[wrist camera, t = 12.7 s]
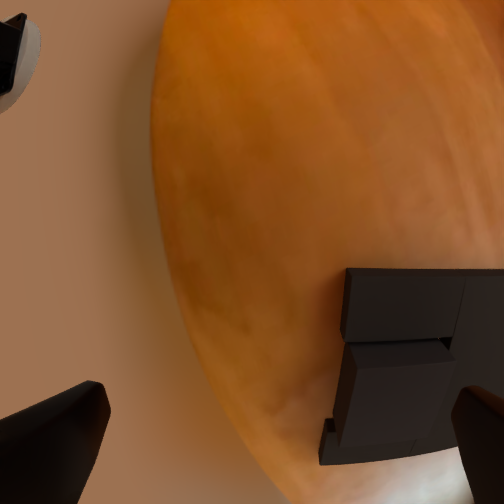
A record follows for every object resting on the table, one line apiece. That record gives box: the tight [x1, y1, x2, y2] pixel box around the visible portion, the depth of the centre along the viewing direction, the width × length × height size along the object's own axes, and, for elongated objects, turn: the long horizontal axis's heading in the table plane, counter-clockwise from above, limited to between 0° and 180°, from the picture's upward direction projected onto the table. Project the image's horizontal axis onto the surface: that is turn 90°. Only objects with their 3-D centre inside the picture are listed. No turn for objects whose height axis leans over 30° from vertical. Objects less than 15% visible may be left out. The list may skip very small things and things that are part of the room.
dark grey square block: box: [333, 338, 457, 447], centre depth 17 cm, size 6×6×4 cm
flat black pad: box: [318, 268, 504, 466], centre depth 18 cm, size 20×15×2 cm
